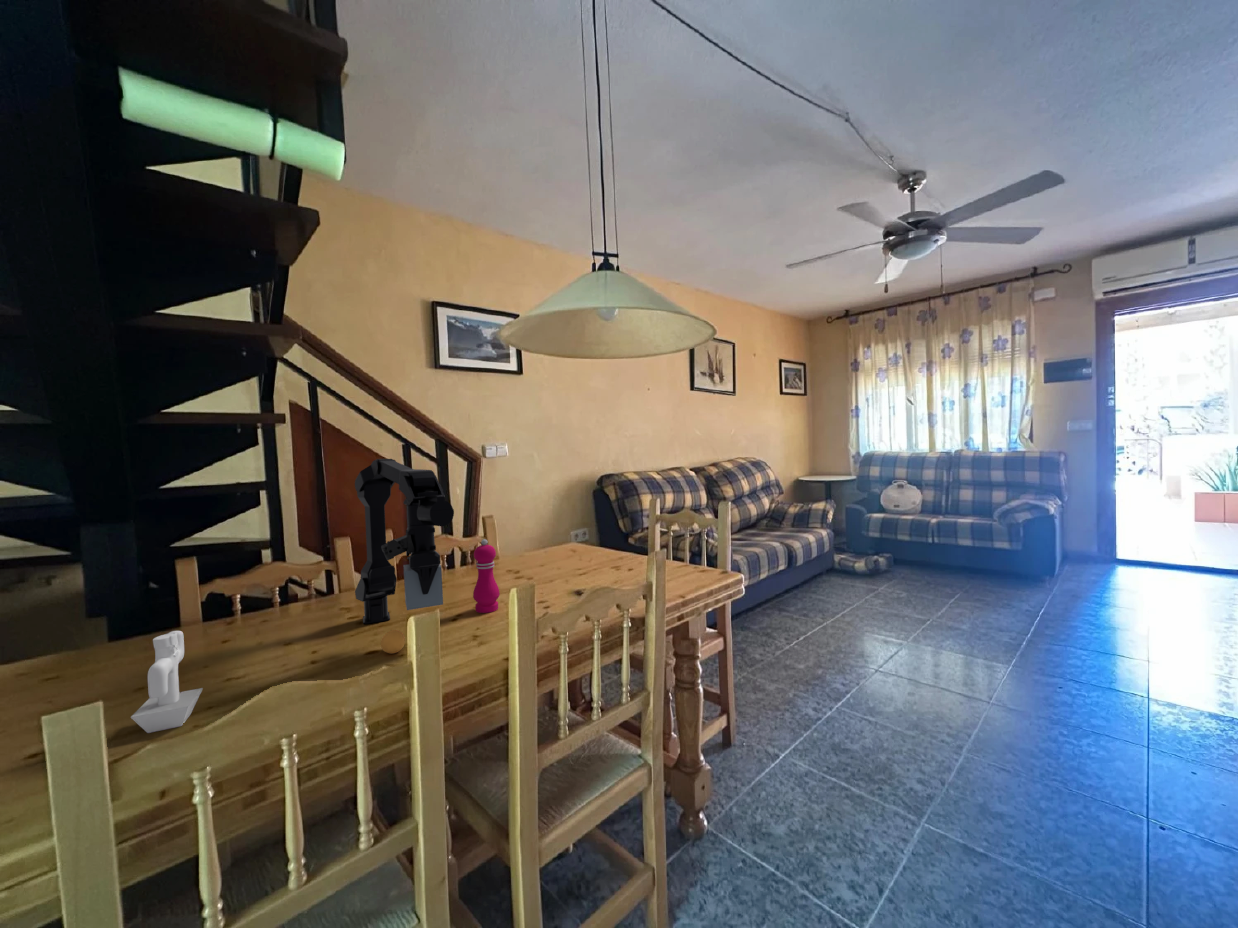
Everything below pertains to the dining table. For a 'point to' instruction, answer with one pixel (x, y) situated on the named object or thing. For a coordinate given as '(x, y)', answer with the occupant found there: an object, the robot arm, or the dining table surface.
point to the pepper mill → (485, 579)
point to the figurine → (166, 688)
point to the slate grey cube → (414, 591)
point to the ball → (393, 641)
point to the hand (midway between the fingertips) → (423, 590)
